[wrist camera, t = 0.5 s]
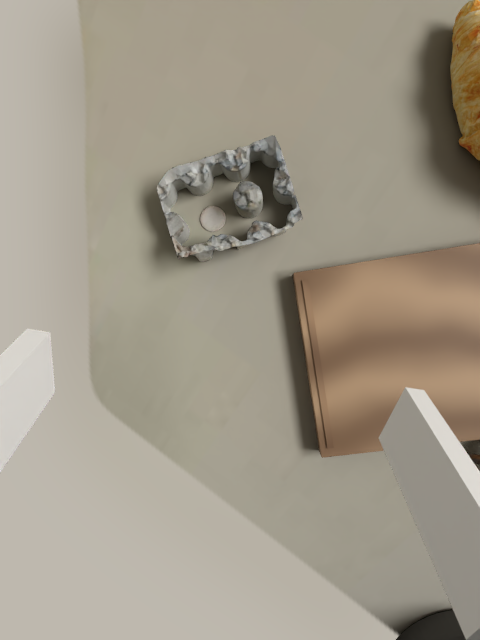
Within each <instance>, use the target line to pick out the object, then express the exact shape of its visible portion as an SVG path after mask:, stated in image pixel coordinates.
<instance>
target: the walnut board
mask: <svg viewBox="0 0 480 640" xmlns="http://www.w3.org/2000/svg"><path fill="white" fill-rule="evenodd" d="M293 281H294V288H295V294H296V301H297V307H298V314H299V321H300V327H301V334H302V340H303V347H304V354H305V360H306V367H307V373H308V380H309V387H310V393H311V400H312V406H313V413H314V420H315V426H316V433H317V439H318V446H319V452H320V454H321V457H331V456H340V455H349V454H357V453H366V452H375V451H383V447H382V445H381V443H380V440H379V436H380V434H381V432H382V430H383V428H384V426H385V425H386V423H387V421H388V419H389V417H390V415H391V413H392V411H393V409H394V408H395V406H396V404H397V402H398V400H399V398H400V396H401V394H402V392H403V391H404V389H405V387H407V388H414V389H420V390H424V391H425V392H426V394H427V395H428V396H429V398H430V399H431V401H432V402H433V404H434V405H435V407H436V408H437V410H438V411H439V413H440V414H441V416H442V417H443V419H444V420H445V421H446V423H447V424H448V426H449V427H450V429H451V430H452V432H453V433H454V435H455V436H456V438H457V439H458V441H459V442H462V441H471V440H479V439H480V243H478V244H472V245H465V246H459V247H453V248H447V249H440V250H434V251H428V252H422V253H415V254H409V255H403V256H397V257H390V258H384V259H378V260H372V261H365V262H359V263H353V264H346V265H340V266H334V267H328V268H321V269H315V270H309V271H303V272H296V273H293Z"/></svg>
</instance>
